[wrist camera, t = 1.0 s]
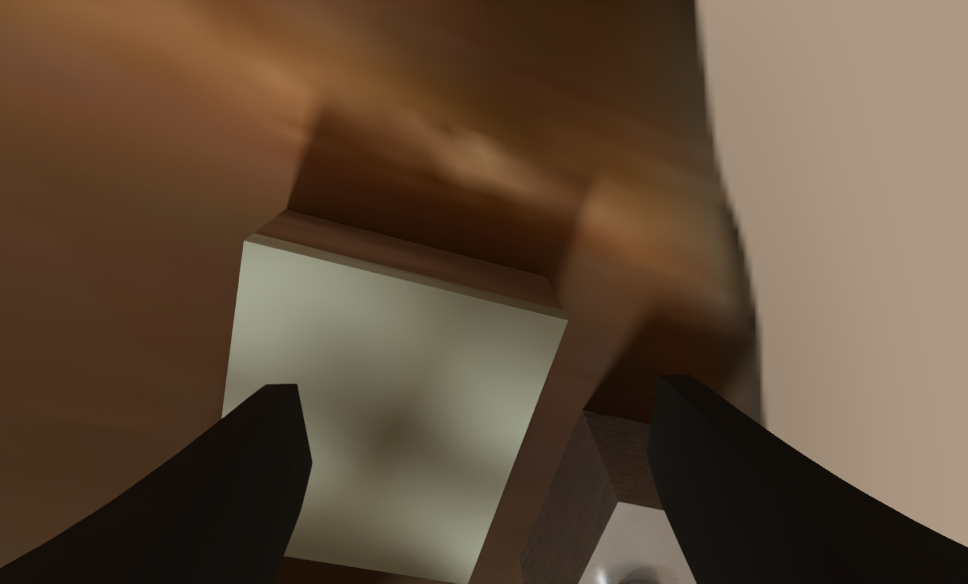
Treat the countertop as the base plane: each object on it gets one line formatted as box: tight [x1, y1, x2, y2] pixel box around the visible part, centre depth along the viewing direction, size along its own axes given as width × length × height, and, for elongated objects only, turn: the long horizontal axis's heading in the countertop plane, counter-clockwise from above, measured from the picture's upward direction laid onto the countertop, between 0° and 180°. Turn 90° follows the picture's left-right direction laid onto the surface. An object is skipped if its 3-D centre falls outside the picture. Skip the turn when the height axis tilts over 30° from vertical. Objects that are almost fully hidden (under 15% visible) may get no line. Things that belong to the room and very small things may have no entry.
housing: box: [520, 410, 696, 584], centre depth 22 cm, size 9×5×6 cm, turn 164°
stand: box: [222, 209, 568, 584], centre depth 20 cm, size 12×10×4 cm
